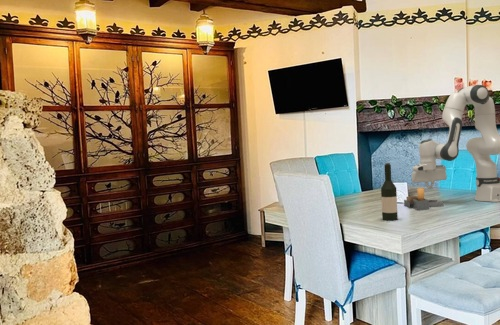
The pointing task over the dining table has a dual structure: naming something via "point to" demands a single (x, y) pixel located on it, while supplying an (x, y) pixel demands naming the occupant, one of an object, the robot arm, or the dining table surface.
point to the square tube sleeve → (421, 204)
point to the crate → (411, 198)
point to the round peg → (420, 193)
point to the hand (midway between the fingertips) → (430, 188)
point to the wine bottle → (389, 197)
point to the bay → (431, 203)
